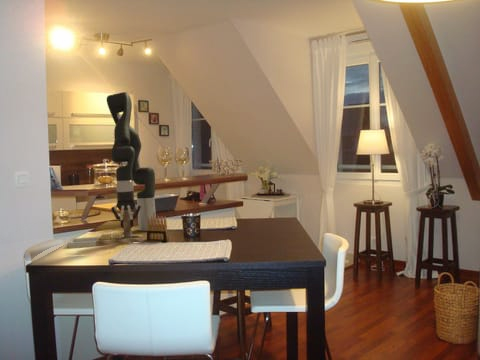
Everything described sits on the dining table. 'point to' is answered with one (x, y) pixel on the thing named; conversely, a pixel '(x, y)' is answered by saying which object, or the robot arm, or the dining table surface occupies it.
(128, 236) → the rake tool
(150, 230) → the ammunition clip
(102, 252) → the dining table surface
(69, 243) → the tray
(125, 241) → the slot channel
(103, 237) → the chip
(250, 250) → the dining table surface
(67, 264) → the dining table surface
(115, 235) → the chip
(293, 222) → the dining table surface
